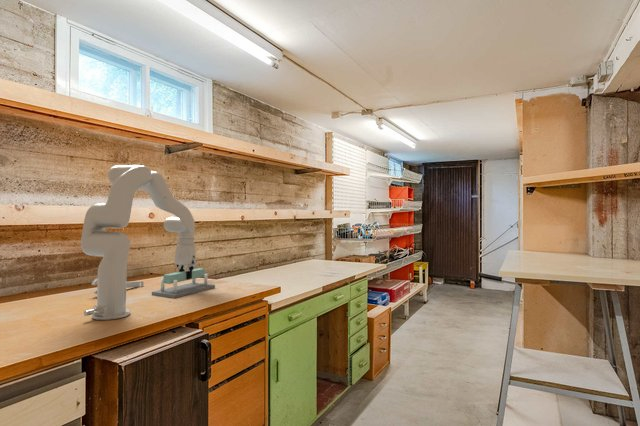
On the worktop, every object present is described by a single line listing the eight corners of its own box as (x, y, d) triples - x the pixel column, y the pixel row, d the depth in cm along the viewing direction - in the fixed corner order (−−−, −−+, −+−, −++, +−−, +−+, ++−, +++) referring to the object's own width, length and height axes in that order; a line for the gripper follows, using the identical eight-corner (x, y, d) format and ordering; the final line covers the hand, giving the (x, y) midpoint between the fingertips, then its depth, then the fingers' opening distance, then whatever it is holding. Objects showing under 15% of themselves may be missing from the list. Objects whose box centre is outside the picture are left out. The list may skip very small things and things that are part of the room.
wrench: (143, 291, 196) (92, 296, 168) (140, 291, 196) (89, 296, 168) (144, 276, 197) (94, 278, 168) (141, 276, 197) (91, 278, 169)
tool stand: (174, 298, 170) (174, 281, 170) (151, 295, 176) (152, 279, 176) (214, 287, 196) (215, 273, 196) (194, 285, 202) (194, 271, 202)
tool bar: (169, 283, 174) (169, 275, 174) (163, 283, 176) (163, 274, 176) (205, 276, 196) (205, 268, 196) (199, 275, 198) (199, 268, 198)
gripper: (167, 241, 186) (167, 278, 186) (193, 243, 179) (193, 281, 179) (178, 240, 193) (178, 275, 193) (204, 242, 186) (203, 278, 186)
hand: (185, 278), depth 186 cm, fingers closed on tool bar, 4 cm apart
